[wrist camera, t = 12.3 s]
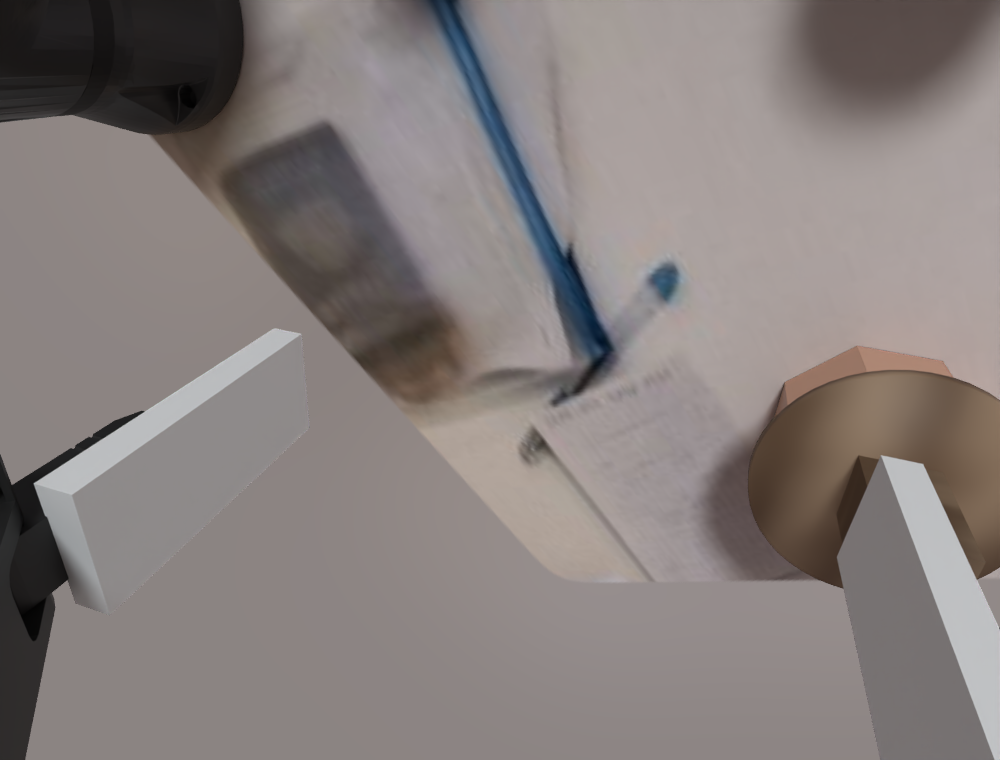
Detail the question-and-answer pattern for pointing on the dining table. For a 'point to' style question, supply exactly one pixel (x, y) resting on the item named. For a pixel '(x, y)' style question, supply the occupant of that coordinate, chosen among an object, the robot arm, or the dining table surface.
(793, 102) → the dining table surface
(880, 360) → the bowl
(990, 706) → the robot arm
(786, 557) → the lid
